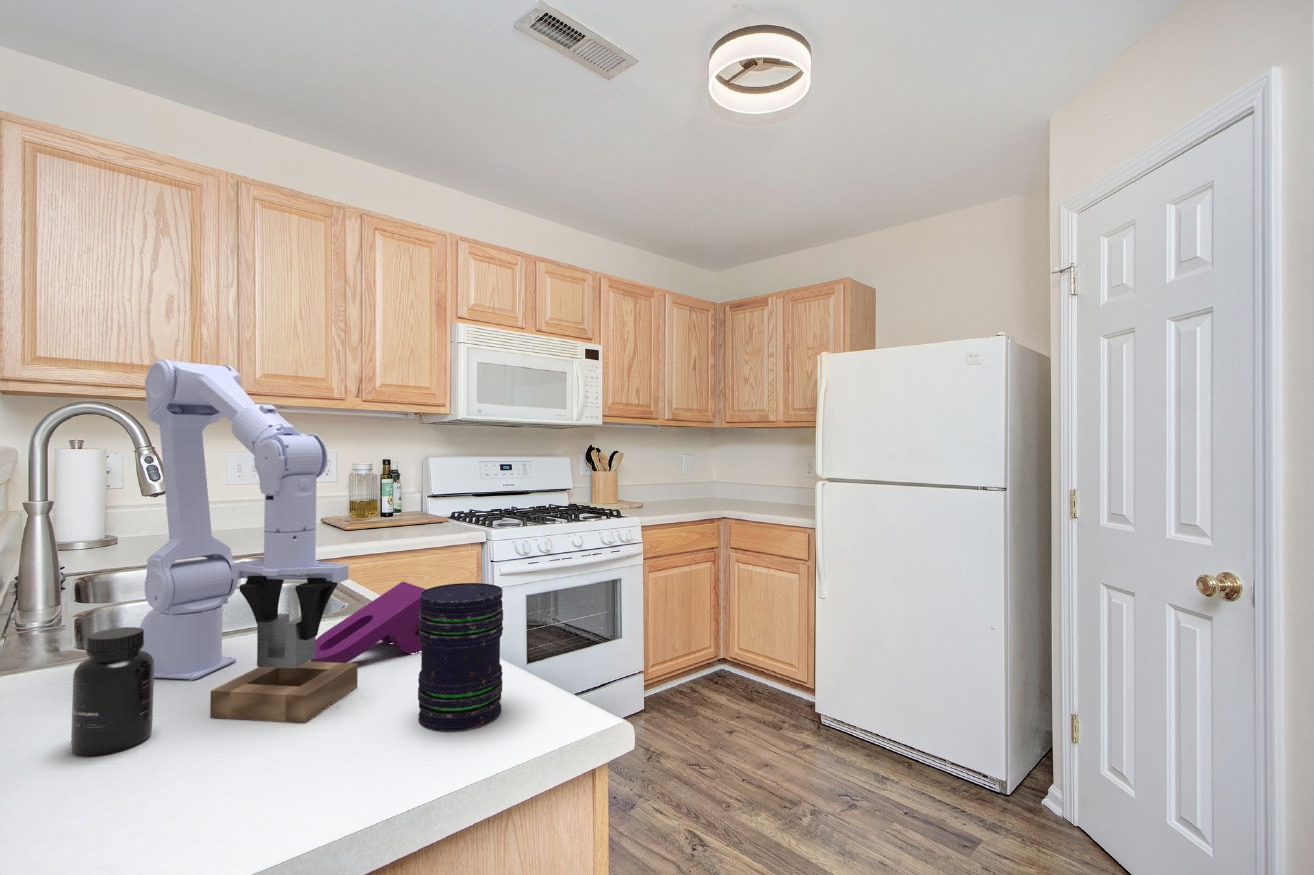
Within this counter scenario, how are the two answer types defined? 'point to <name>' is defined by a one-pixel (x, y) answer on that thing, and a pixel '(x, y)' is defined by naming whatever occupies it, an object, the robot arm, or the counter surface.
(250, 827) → the counter surface
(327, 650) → the mounting bracket
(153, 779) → the counter surface
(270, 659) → the bracket
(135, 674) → the supplement bottle
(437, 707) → the dark blue ribbed cylinder
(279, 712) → the well block
